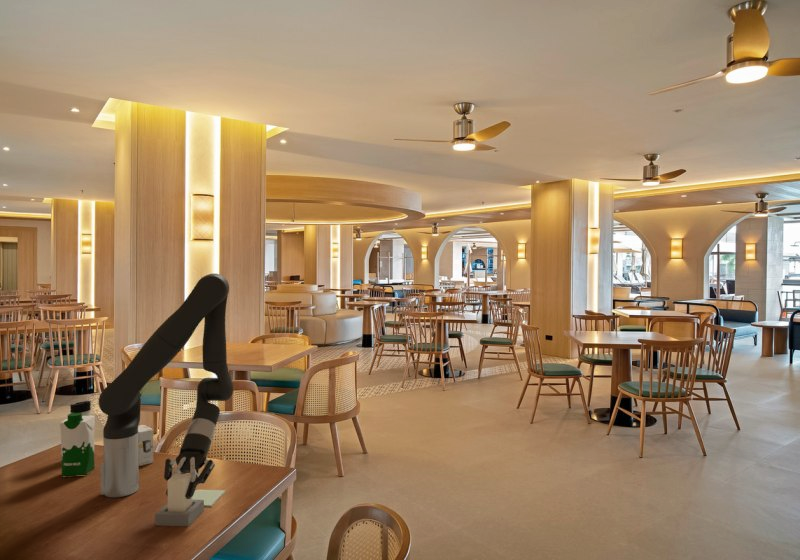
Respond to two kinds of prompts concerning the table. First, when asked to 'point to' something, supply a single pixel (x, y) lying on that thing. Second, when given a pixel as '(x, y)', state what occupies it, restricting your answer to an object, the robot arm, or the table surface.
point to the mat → (208, 496)
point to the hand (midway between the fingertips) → (178, 497)
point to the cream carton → (178, 493)
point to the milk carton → (77, 444)
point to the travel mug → (81, 408)
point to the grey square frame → (179, 515)
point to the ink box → (145, 445)
